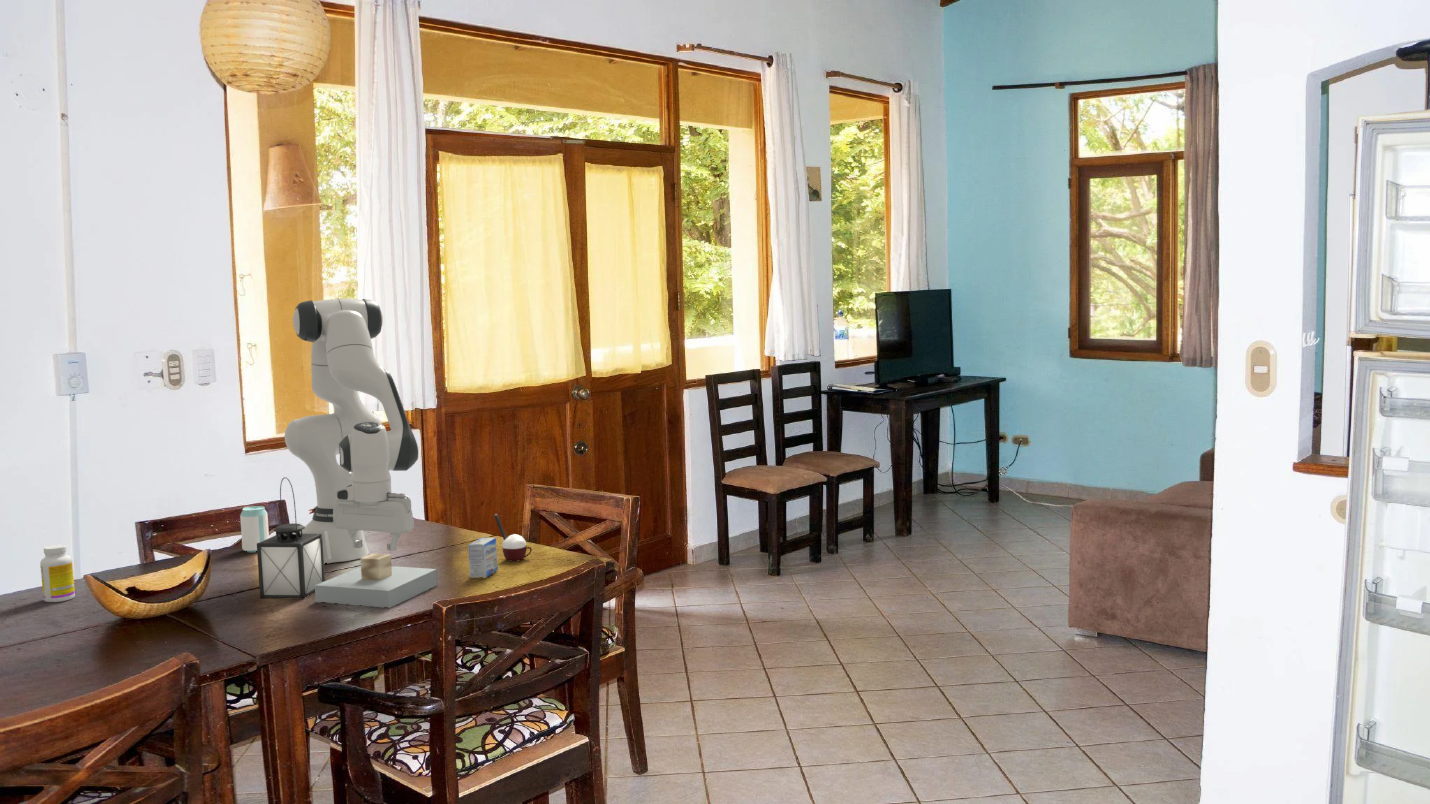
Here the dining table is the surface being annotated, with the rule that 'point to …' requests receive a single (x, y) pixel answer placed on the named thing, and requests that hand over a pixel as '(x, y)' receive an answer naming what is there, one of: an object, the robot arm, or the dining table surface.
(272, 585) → the lantern
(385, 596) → the stand
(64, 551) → the supplement bottle
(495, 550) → the medicine box
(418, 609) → the dining table surface
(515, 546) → the cocoa
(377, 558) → the maple cube
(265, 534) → the can
